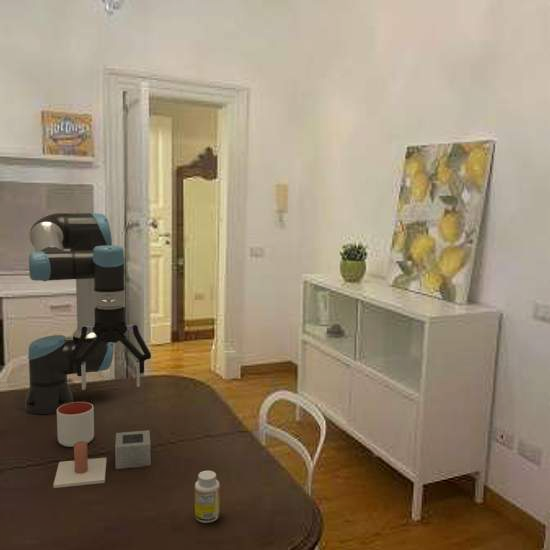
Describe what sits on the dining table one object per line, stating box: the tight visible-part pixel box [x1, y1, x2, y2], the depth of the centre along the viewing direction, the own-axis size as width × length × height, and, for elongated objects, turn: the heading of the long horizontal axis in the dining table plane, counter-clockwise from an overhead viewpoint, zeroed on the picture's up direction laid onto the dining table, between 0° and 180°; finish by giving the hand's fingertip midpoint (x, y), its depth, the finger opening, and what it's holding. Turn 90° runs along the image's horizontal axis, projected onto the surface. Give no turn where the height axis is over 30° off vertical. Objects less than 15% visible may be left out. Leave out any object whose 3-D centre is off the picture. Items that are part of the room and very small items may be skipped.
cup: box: [56, 401, 95, 448], centre depth 159 cm, size 10×10×10 cm
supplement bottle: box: [194, 470, 221, 524], centre depth 124 cm, size 6×6×10 cm
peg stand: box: [53, 441, 107, 489], centre depth 141 cm, size 12×12×8 cm
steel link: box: [114, 429, 152, 470], centre depth 149 cm, size 9×9×6 cm
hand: (111, 386), depth 143 cm, fingers open, 13 cm apart
